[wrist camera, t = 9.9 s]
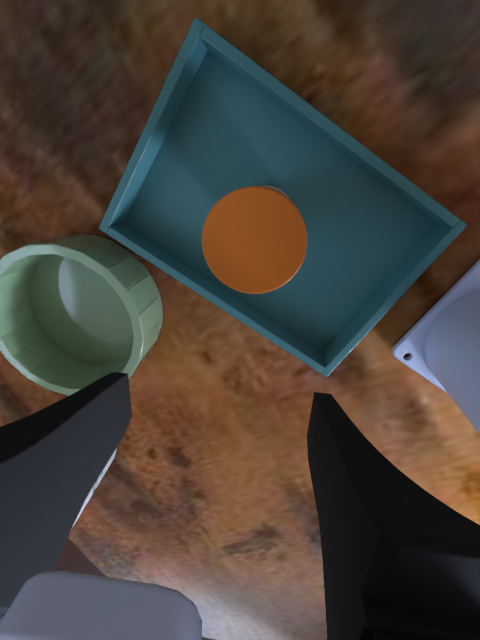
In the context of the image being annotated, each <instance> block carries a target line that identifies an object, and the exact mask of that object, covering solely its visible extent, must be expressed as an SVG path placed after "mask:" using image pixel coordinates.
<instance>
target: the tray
mask: <svg viewBox="0 0 480 640" xmlns="http://www.w3.org/2000/svg"><path fill="white" fill-rule="evenodd" d="M263 185H269V186H274V187H277V188H279V189H281V190H282V191H283V192H285V193H286V194H287V195H288V197H289V198H290V199H291V200H292V202H293V203H294V204H295V205H296V207H297V208H298V210H299V212H300V214H301V216H302V218H303V220H304V223H305V226H306V231H307V250H306V255H305V258H304V261H303V263H302V265H301V267H300V268H299V270H298V271H297V273H296V274H295V275H294V276H293V278H292V279H290V280H289V281H288V282H287V283H286V284H284V285H283V286H281V287H279V288H277V289H275V290H273V291H270V292H266V293H259V294H250V293H243V292H240V291H237V290H234V289H232V288H230V287H228V286H226V285H225V284H224V283H222V282H221V281H220V280H219V279H218V278H217V277H216V276H215V275H214V274H213V273H212V271H211V270H210V268H209V266H208V264H207V262H206V260H205V257H204V254H203V249H202V231H203V226H204V223H205V220H206V218H207V216H208V214H209V212H210V210H211V209H212V207H213V206H214V205H215V204H216V203H217V202H218V201H219V200H220V199H221V198H222V197H224V196H225V195H227V194H228V193H230V192H232V191H234V190H237V189H240V188H244V187H249V186H263ZM466 226H467V224H465V223H464V222H463V221H462V220H459V218H458V217H456V216H455V215H454V214H452V213H451V212H450V211H449V210H447V209H446V208H445V207H443V206H442V205H441V204H439V203H438V202H437V201H435V200H434V199H433V198H432V197H430V196H429V195H428V194H426V193H425V192H424V191H422V190H421V189H420V188H418V187H417V186H416V185H415V184H413V183H412V182H411V181H409V180H408V179H407V178H405V177H404V176H403V175H402V174H400V173H399V172H398V171H396V170H395V169H394V168H392V167H391V166H390V165H388V164H387V163H386V162H385V161H383V160H382V159H381V158H379V157H378V156H377V155H375V154H374V153H373V152H371V151H370V150H369V149H368V148H366V147H365V146H364V145H362V144H361V143H360V142H358V141H357V140H356V139H355V138H353V137H352V136H351V135H349V134H348V133H347V132H345V131H344V130H343V129H341V128H340V127H339V126H338V125H336V124H335V123H334V122H332V121H331V120H330V119H328V118H327V117H326V116H324V115H323V114H322V113H321V112H319V111H318V110H317V109H315V108H314V107H313V106H311V105H310V104H309V103H308V102H306V101H305V100H304V99H302V98H301V97H300V96H298V95H297V94H296V93H294V92H293V91H292V90H291V89H289V88H288V87H287V86H285V85H284V84H283V83H281V82H280V81H279V80H277V79H276V78H275V77H274V76H272V75H271V74H270V73H268V72H267V71H266V70H264V69H263V68H262V67H260V66H259V65H258V64H257V63H255V62H254V61H253V60H251V59H250V58H249V57H247V56H246V55H245V54H244V53H242V52H241V51H240V50H238V49H237V48H236V47H234V46H233V45H232V44H230V43H229V42H228V41H227V40H225V39H224V38H223V37H221V36H220V35H219V34H217V33H216V32H215V31H213V30H212V29H211V28H210V27H208V26H207V25H204V23H203V22H202V21H200V20H199V19H198V18H197V17H195V18H194V20H193V22H192V25H191V27H190V29H189V31H188V33H187V36H186V38H185V40H184V42H183V44H182V47H181V49H180V51H179V53H178V55H177V57H176V60H175V62H174V64H173V66H172V68H171V71H170V73H169V75H168V77H167V79H166V81H165V84H164V86H163V88H162V90H161V92H160V95H159V97H158V99H157V101H156V103H155V105H154V108H153V110H152V112H151V114H150V116H149V119H148V121H147V123H146V125H145V127H144V130H143V132H142V134H141V136H140V138H139V140H138V143H137V145H136V147H135V149H134V151H133V154H132V156H131V158H130V160H129V162H128V164H127V167H126V169H125V171H124V173H123V175H122V178H121V180H120V182H119V184H118V186H117V189H116V191H115V193H114V195H113V197H112V199H111V202H110V204H109V206H108V208H107V210H106V213H105V215H104V217H103V219H102V221H101V223H100V226H99V228H98V229H100V230H101V231H103V232H104V233H106V234H107V235H109V236H110V237H112V238H113V239H115V240H117V241H118V242H120V243H121V244H123V245H124V246H126V247H127V248H129V249H130V250H132V251H133V252H135V253H137V254H138V255H140V256H141V257H143V258H144V259H146V260H147V261H149V262H150V263H152V264H153V265H155V266H157V267H158V268H160V269H161V270H163V271H164V272H166V273H167V274H169V275H170V276H172V277H173V278H175V279H177V280H178V281H180V282H181V283H183V284H184V285H186V286H187V287H189V288H190V289H192V290H193V291H195V292H196V293H198V294H200V295H201V296H203V297H204V298H206V299H207V300H209V301H210V302H212V303H213V304H215V305H216V306H218V307H220V308H221V309H223V310H224V311H226V312H227V313H229V314H230V315H232V316H233V317H235V318H236V319H238V320H240V321H241V322H243V323H244V324H246V325H247V326H249V327H250V328H252V329H253V330H255V331H256V332H258V333H259V334H261V335H263V336H264V337H266V338H267V339H269V340H270V341H272V342H273V343H275V344H276V345H278V346H279V347H281V348H283V349H284V350H286V351H287V352H289V353H290V354H292V355H293V356H295V357H296V358H298V359H299V360H301V361H303V362H304V363H306V364H307V365H309V366H310V367H312V368H313V369H315V370H316V371H318V372H319V373H321V374H323V375H324V376H326V377H327V376H328V375H329V374H330V373H331V372H332V371H333V370H334V369H335V368H336V366H337V365H338V364H339V363H340V362H341V361H342V360H343V359H344V358H345V357H346V356H347V355H348V354H349V352H350V351H351V350H352V349H353V348H354V347H355V346H356V345H357V344H358V343H359V342H360V341H361V339H362V338H363V337H364V336H365V335H366V334H367V333H368V332H369V331H370V330H371V329H372V328H373V327H374V325H375V324H376V323H377V322H378V321H379V320H380V319H381V318H382V317H383V316H384V315H385V314H386V312H387V311H388V310H389V309H390V308H391V307H392V306H393V305H394V304H395V303H396V302H397V301H398V300H399V298H400V297H401V296H402V295H403V294H404V293H405V292H406V291H407V290H408V289H409V288H410V287H411V285H412V284H413V283H414V282H415V281H416V280H417V279H418V278H419V277H420V276H421V275H422V274H423V273H424V271H425V270H426V269H427V268H428V267H429V266H430V265H431V264H432V263H433V262H434V261H435V260H436V258H437V257H438V256H439V255H440V254H441V253H442V252H443V251H444V250H445V249H446V248H447V247H448V246H449V244H450V243H451V242H452V241H453V240H454V239H455V238H456V237H457V236H458V235H459V234H460V233H461V232H462V230H463V229H464V228H465V227H466Z"/></svg>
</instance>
